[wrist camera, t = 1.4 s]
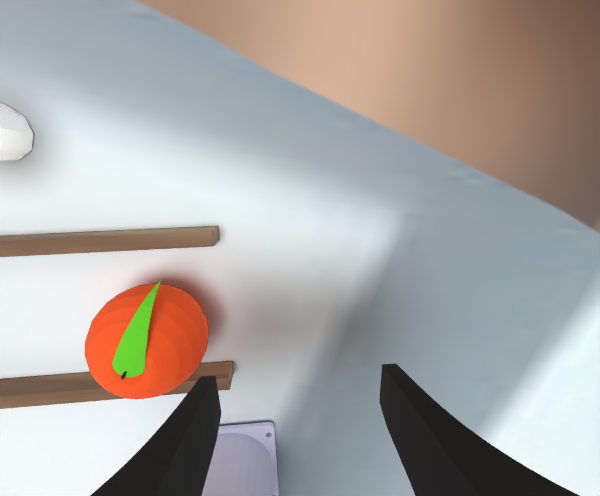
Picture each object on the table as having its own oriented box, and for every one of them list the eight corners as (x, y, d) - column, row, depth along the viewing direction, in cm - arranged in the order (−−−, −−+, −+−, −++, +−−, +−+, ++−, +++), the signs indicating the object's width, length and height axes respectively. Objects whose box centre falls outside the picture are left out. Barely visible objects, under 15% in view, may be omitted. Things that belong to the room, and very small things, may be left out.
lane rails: (233, 371, 23) (229, 389, 21) (-60, 395, 22) (-93, 416, 20) (218, 225, 20) (212, 231, 19) (-122, 241, 19) (-168, 249, 17)
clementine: (134, 244, 20) (62, 279, 13) (231, 270, 21) (210, 315, 15) (115, 342, 22) (42, 418, 15) (206, 361, 23) (176, 441, 16)
